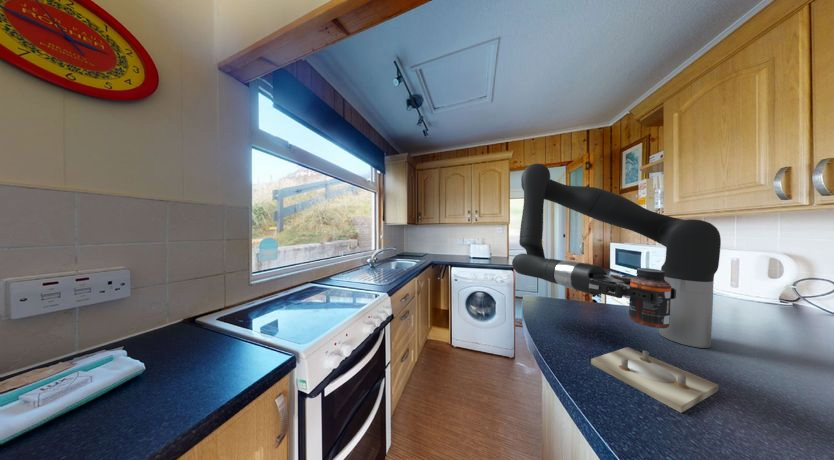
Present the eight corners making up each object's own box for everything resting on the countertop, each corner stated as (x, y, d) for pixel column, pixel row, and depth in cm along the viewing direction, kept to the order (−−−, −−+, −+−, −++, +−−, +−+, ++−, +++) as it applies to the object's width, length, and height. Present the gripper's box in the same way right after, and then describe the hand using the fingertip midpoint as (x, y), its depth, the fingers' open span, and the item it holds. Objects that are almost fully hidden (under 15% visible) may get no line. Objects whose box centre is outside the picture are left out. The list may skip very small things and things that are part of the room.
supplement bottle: (679, 331, 43) (681, 273, 43) (642, 328, 44) (645, 272, 44) (653, 318, 49) (655, 267, 48) (621, 315, 50) (623, 266, 50)
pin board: (627, 351, 56) (627, 339, 56) (718, 390, 43) (718, 374, 42) (591, 364, 51) (591, 350, 50) (681, 413, 38) (681, 394, 37)
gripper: (560, 264, 57) (646, 280, 41) (596, 261, 62) (685, 274, 46) (559, 293, 57) (644, 320, 42) (595, 287, 62) (684, 309, 47)
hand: (666, 295), depth 44 cm, fingers closed on supplement bottle, 6 cm apart
